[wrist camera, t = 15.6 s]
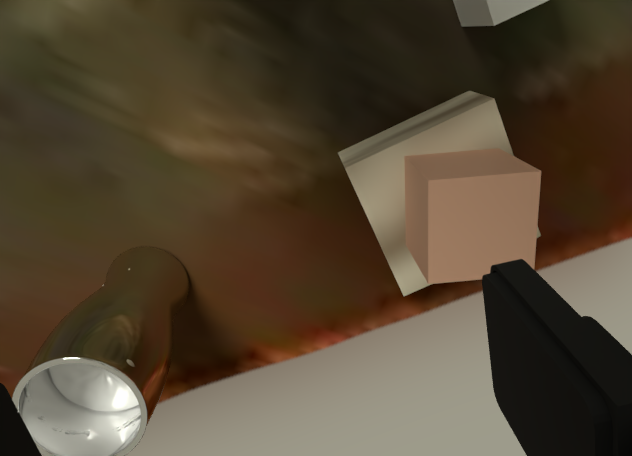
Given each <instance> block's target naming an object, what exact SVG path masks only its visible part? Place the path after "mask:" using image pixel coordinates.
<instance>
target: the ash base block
mask: <svg viewBox="0 0 632 456" xmlns="http://www.w3.org/2000/svg"><path fill="white" fill-rule="evenodd" d="M496 148H500V149H501V150H503V151H505V152H507V153H509V154H511V155H513V152H512V149H511V146H510V143H509V140H508V137H507V134H506V131H505V129H504V126H503V123H502V120H501V117H500V114H499V111H498V108H497V105H496V102H495V99H494V98H492V97H488V96H485V95H482V94H479V93H476V92H473V91H467V92H465V93H463V94H461V95H459V96H457V97H454V98H452V99H450V100H448V101H446V102H444V103H442V104H440V105H437V106H435V107H433V108H431V109H429V110H427V111H425V112H423V113H421V114H418V115H416V116H414V117H412V118H410V119H408V120H406V121H404V122H401V123H399V124H397V125H395V126H393V127H391V128H389V129H387V130H384V131H382V132H380V133H378V134H376V135H374V136H372V137H370V138H368V139H365V140H363V141H361V142H359V143H357V144H355V145H353V146H351V147H348V148H346V149H344V150H342V151H340V152H338V155H339V157H340V159H341V161H342V163H343V165H344V168H345V170H346V172H347V174H348V176H349V178H350V181H351V183H352V185H353V187H354V189H355V192H356V194H357V196H358V198H359V200H360V202H361V205H362V207H363V209H364V211H365V213H366V216H367V218H368V220H369V222H370V224H371V226H372V229H373V231H374V233H375V235H376V237H377V239H378V242H379V244H380V246H381V248H382V250H383V253H384V255H385V257H386V259H387V261H388V263H389V266H390V268H391V270H392V272H393V274H394V276H395V279H396V281H397V283H398V285H399V287H400V289H401V291H402V294H403V296H406V295H408V294H411V293H413V292H415V291H417V290H420V289H422V288H424V287H426V286H429V285H431V284H428V283H427V281H426V279H425V277H424V276H423V274H422V272H421V271H420V269H419V267H418V265H417V264H416V262H415V260H414V258H413V257H412V255H411V253H410V251H409V250H408V248H407V246H406V224H405V160H404V156H411V155H423V154H435V153H447V152H459V151H471V150H483V149H496ZM513 156H514V155H513ZM540 236H541V234H540V232H539V229H538V226H537V238H538V237H540Z"/></svg>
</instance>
